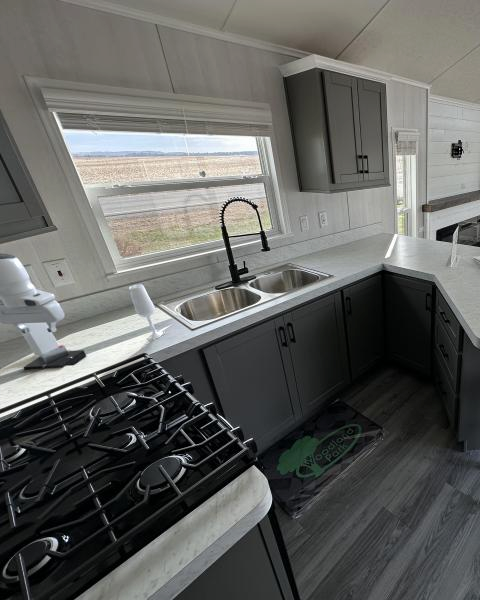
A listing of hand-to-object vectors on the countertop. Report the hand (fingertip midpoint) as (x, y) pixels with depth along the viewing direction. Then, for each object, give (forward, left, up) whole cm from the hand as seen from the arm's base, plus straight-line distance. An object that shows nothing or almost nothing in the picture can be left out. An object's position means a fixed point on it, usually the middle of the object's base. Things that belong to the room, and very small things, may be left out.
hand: (39, 332), depth 122 cm
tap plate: (0, 0, -15) cm, 15 cm away
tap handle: (+1, 0, -12) cm, 12 cm away
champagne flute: (+26, +19, -15) cm, 35 cm away
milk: (-12, +9, -15) cm, 21 cm away
